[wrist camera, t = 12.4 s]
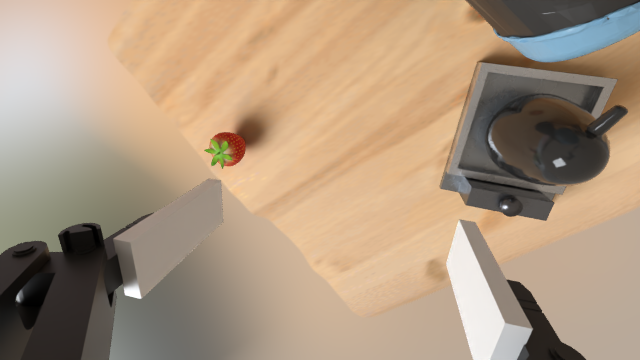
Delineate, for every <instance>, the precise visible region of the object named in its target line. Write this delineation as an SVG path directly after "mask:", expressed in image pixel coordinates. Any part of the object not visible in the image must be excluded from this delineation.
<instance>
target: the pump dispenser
mask: <svg viewBox="0 0 640 360" xmlns="http://www.w3.org/2000/svg"><path fill="white" fill-rule="evenodd" d="M627 113H628V110H627V108H625V107H624V106H621V105H616V106H614V107H612V108H611V109H610V110H608V111H607V112H606V113H604V114H603V115H601V116H600V117H599V118H597V119H595V118H594V117H593V116H592V115H591V114H590V113H589V112H588V111H587V110H586V109H584V108H583V107H581V106H580V105H578V104H576V103H575V102H573V101H571V100H569V99H566V98H564V97H561V96H558V95H554V94H548V93H533V94H528V95H524V96H521V97H518V98H516V99H514V100H512V101H510V102H509V103H507V104H506V105H504V106H503V107H502V108H501V109H500V110H499V111H498V112H497V113H496V114H495V115H494V116H493V118H492V119H491V121H490V123H489V125H488V127H487V130H486V135H485V146H486V150H487V153H488V155H489V157H490V159H491V160H492V161H493V162H494V163H495V164H496V165H497V166H498V167H499V168H500V169H502V170H503V171H505V172H506V173H508V174H510V175H512V176H514V177H516V178H518V179H521V180H524V181H527V182H530V183H534V184H540V185H547V186H571V185H576V184H580V183H584V182H586V181H589V180H591V179H593V178H594V177H596V176H597V175H599V174H600V173H601V172H602V171H603V170H604V168H605V167H606V165H607V163H608V161H609V158H610V143H609V140H608V138H607V135H606V132H607V131H608V130H609V129H610V128H611V127H612V126H614V125H615V124H616V123H617V122H618V121H619V120H620V119H621V118H623V117H624V116H625V115H626V114H627Z"/></svg>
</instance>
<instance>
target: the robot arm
mask: <svg viewBox="0 0 640 360" xmlns="http://www.w3.org/2000/svg"><path fill="white" fill-rule="evenodd" d="M466 1H467V2H468V3H469V4H470V5H471V6H472V7H473V8H474V9H475V10H476V11H477V12H478V13H479V14H480V15H481V16H482V17H483V18H484V19H485V20H486V21H487V22H488V23H489V24H490V25H491V26H492V27H493V30H494V32H495V34H496V35H497V36H498V37H499V38H502V39H503V40H504V41H507V42H509V43H510V44H512V45H513V46H514V47H515V48H516V49H517V50H518V51H520V52H521V53H522V54H523V55H524V56H525V57H527V58H530V59H532V60H535V61H539V62H558V61H564V60H569V59H573V58H577V57H580V56H583V55H586V54H589V53H592V52H594V51H597V50H600V49H602V48H605V47H607V46H609V45H612V44H614V43H616V42H619V41H621V40H623V39H625V38H627V37H629V36H631V35H633V34H635V33H637V32H639V31H640V0H466ZM221 190H222V189H221V180H215V179H207V180H206V181H204V182H203V183H201V184H200V185H198V186H196V187H195V188H193V189H192V190H190V191H188V192H187V193H185V194H184V195H182V196H180V197H179V198H177V199H176V200H174V201H172V202H171V203H169V204H168V205H166V206H164V207H163V208H161V209H160V210H158V211H156V212H155V213H151V214H148V215H145V216H143V217H141V218H139V219H137V220H136V221H134V222H133V223H131V224H129V225H127V226H126V228H123V229H121V230H119V231H118V232H116V233H115V234H113V235H111V236H110V237H108V238H106V239H105V240H103V236H102V231H101V227H100V225H98V224H95V223H83V224H78V225H74V226H71V227H68V228H66V229H65V230H63V231H61V232H60V233H59V235H58V237H59V240H60V244H61V247H62V250H63V252H49V250H48V247H47V244H46V243H45V242H42V241H32V242H24V243H20V244H18V245H16V246H14V247H11V248H9V249H8V250H6V251H4V252H3V253H2V254H1V255H0V360H109V355H110V347H111V339H112V330H113V322H114V314H115V306H116V298H117V296H116V292H115V289H117V288H118V287H119V286H120V285H122V284H123V287H124V291H125V295H127V296H131V297H136V298H140V299H141V298H143V297H144V296H145V295H146V294H147V293H148V292H149V291H150V290H151V289H152V288H153V287H154V286H155V285H157V284H158V283H159V282H160V281H161V280H162V279H163V278H164V277H165V276H166V275H167V274H168V273H169V272H170V271H171V270H172V269H173V268H175V267H176V266H177V265H178V263H180V262H181V261H182V260H183V259H184V258H185V257H186V256H187V255H188V254H189V253H191V252H192V250H194V249H195V248H196V247H197V246H198V245H199V244H200V243H201V242H202V241H203V240H204V239H205V238H206V237H208V236H209V235H210V234H211V233H212V232H213V231H214V230H215V229H216V228H217V227H218V226H219V225H220V224H221V223H222V222H223V209H222V191H221ZM446 265H447V269H448V272H449V276H450V279H451V283H452V286H453V290H454V294H455V297H456V301H457V304H458V308H459V311H460V315H461V318H462V322H463V325H464V329H465V332H466V336H467V340H468V343H469V346H470V350H471V354H472V357H473V360H586V359H585V358H584V357H583V356H582V355H581V354H580V353H579V352H577V351H576V350H575V349H573V348H572V347H570V346H568V345H566V344H564V343H562V342H561V341H560V339H559V338H558V336H557V335H556V333H555V331H554V330H553V328H552V326H551V325H550V323H549V321H548V320H547V318H546V317H545V315H544V313H542V310H541V309H540V307H539V305H538V304H537V302H536V300H535V299H534V297H533V296H532V294H531V292H530V291H529V290H527V289H526V288H525V287H524V286H523V285H522V284H521V283H520V282H516V281H511V280H506V278H505V276H504V275H503V273H502V271H501V269H500V267H499V265H498V264H497V262H496V260H495V258H494V256H493V254H492V252H491V251H490V249H489V247H488V245H487V243H486V241H485V239H484V238H483V236H482V234H481V232H480V230H479V228H478V226H477V225H476V223H475V222H471V221H465V220H459V221H458V225H457V228H456V232H455V235H454V239H453V242H452V246H451V249H450V253H449V256H448V260H447V263H446ZM15 301H16V302H15Z"/></svg>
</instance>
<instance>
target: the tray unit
mask: <svg viewBox="0 0 640 360" xmlns="http://www.w3.org/2000/svg"><path fill="white" fill-rule="evenodd" d="M617 80H618V79H611V78H603V77H595V76H587V75H579V74H571V73H563V72H555V71H547V70H539V69H531V68H523V67H515V66H507V65H499V64H491V63H483V62H477V64H476V68H475V71H474V74H473V77H472V81H471V84H470V87H469V91H468V94H467V97H466V101H465V104H464V107H463V111H462V114H461V117H460V120H459V124H458V127H457V130H456V134H455V137H454V140H453V144H452V147H451V150H450V153H449V157H448V160H447V163H446V167H445V170H444V173H443V177H442V180H441V183H440V189H445V190H450V191H455V192H459V193H460V195H461V197H462V199H463V201H464V203H465V205H468V206H473V207H478V208H483V209H488V210H494V211H499V212H503V214H504V215H506V216H510V217H512V216H516V215H519V216H524V217H529V218H534V219H539V220H544V221H546V220H547V218H548V216H549V213H550V211H551V209H552V207H553V205H554V202H553V201H552V199H553V197H554V195H555V193H556V194H561V195H562V194H563V192H564V190H565V188H566V186H547V185H540V184H534V183H530V182H527V181H524V180H521V179H518V178H516V177H514V176H512V175H510V174H508V173H506V172H505V171H503V170H502V169H500V168H499V167H498V166H497V165H496V164H495V163H494V162H493V161H492V160H491V159H490V157H489V155H488V153H487V150H486V146H485V135H486V130H487V127H488V125H489V123H490V121H491V119H492V118H493V116H494V115H495V114H496V113H497V112H498V111H499V110H500V109H501V108H502V107H503V106H504V105H506V104H507V103H509V102H510V101H512V100H514V99H516V98H518V97H521V96H524V95H528V94H533V93H548V94H554V95H558V96H561V97H564V98H566V99H569V100H571V101H573V102H575V103H576V104H578V105H580V106H581V107H583V108H584V109H586V110H587V111H588V112H589V113H590V114H591V115H592V116H593V117H594V118H595V119H597V118H599V117H600V115H601V113H602V111H603V109H604V107H605V105H606V103H607V101H608V99H609V97H610V94H611V92H612V90H613V88H614V86H615V84H616V82H617Z"/></svg>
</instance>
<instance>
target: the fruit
mask: <svg viewBox="0 0 640 360" xmlns="http://www.w3.org/2000/svg"><path fill="white" fill-rule="evenodd" d="M205 151H206V152H208V153H211V154H212V156H213V159H212V163H211V165H212V166H213V165H215V164H216V163H217V162H218V163H220V164H221V167H222V169H223V166H233V165H236V164H237V163H238V162H239V161H240V160H241V159H242V158H243V156H244V154H245V141H244V139H243V138H242V137H240V136H239V135H236V134H234V133H229V132H223V133H219V134H217V135H215V136H214V137H213V138H212V139H211V142H210V149H206V150H205Z"/></svg>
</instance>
